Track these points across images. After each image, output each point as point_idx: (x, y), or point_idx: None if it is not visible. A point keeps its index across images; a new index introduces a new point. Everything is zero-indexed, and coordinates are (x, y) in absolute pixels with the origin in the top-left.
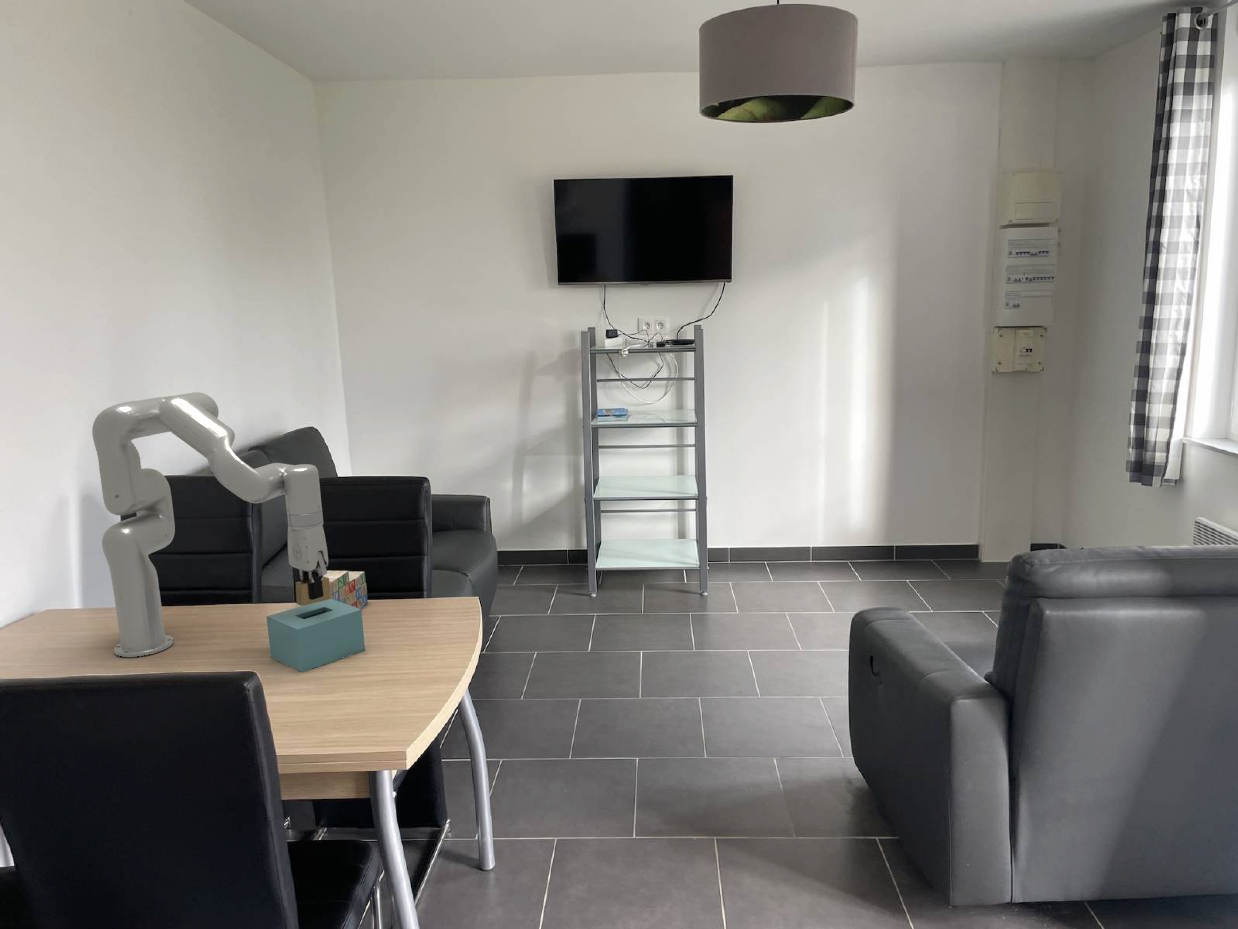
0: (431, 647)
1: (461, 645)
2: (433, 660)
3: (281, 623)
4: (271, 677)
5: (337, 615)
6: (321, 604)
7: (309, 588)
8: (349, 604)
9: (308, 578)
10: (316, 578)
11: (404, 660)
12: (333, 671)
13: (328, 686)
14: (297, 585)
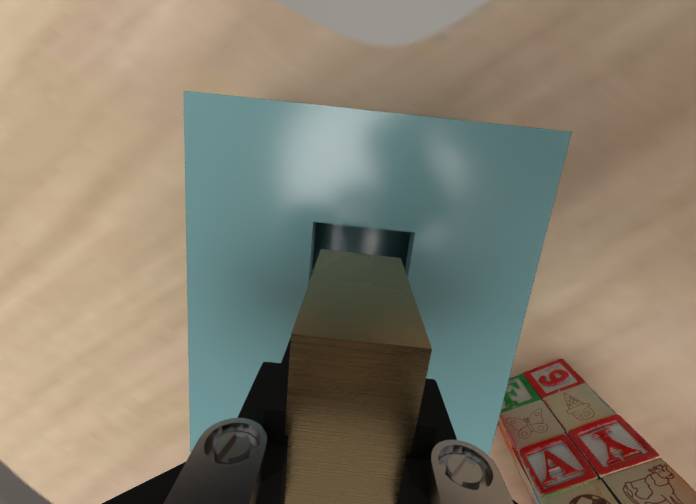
0: (114, 445)
1: (64, 487)
2: (25, 389)
3: (383, 113)
4: (314, 26)
5: (211, 349)
6: None
7: (282, 372)
8: None
9: (401, 497)
10: (126, 496)
11: (87, 351)
12: (181, 185)
13: (80, 94)
14: (383, 328)
